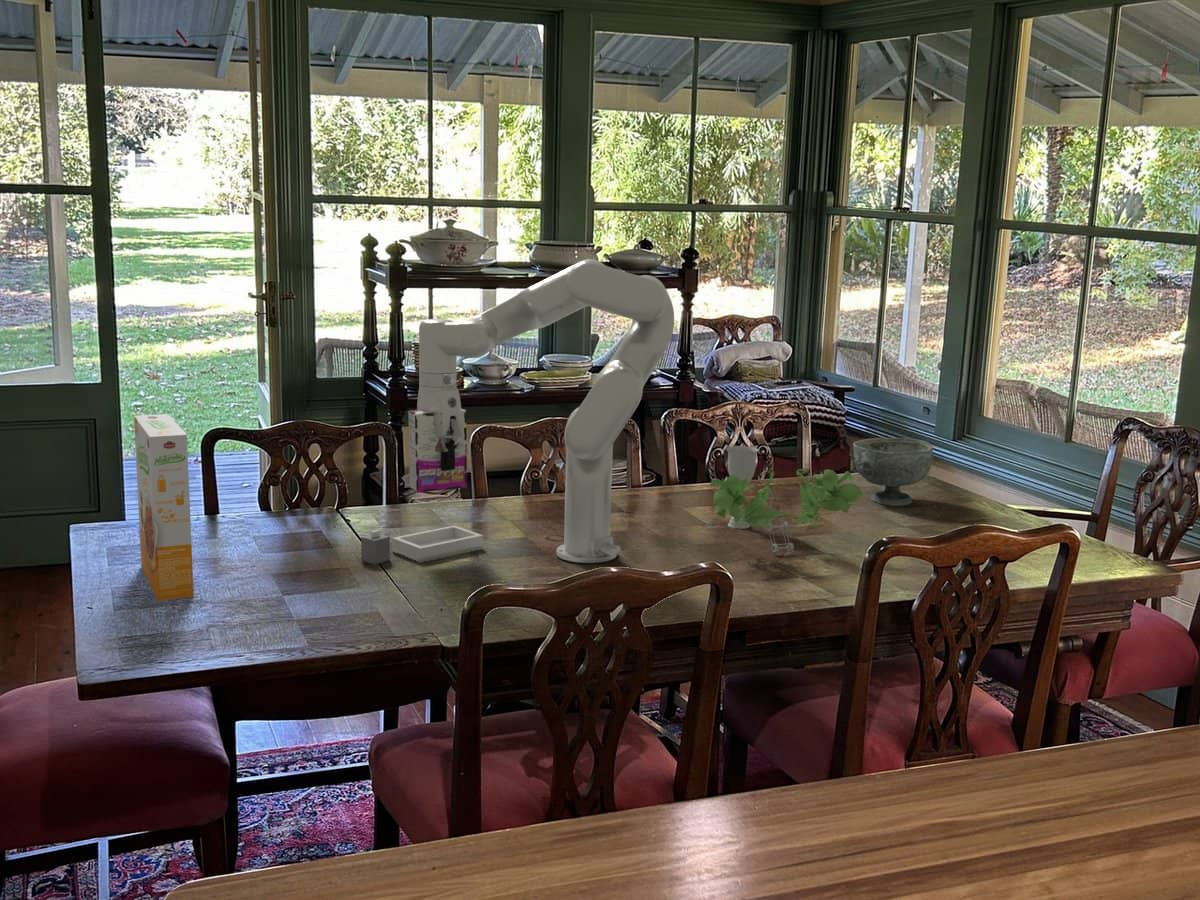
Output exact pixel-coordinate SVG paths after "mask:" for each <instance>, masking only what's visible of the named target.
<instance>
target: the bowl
mask: <svg viewBox="0 0 1200 900" xmlns="http://www.w3.org/2000/svg"><path fill="white" fill-rule="evenodd" d="M852 444H853V459H854V460H853V462H854V464H855V465H854V466H855V468H856V470H857V473H858V474H859V475H861V477H862V478H863V479H865V480H866V481H867V482H868V483H871V484H873V485H875V486H885V488H884V490H879V491H875V492H874V493H872V495H871V497H870V499H871V500H872V501H873V502H875V503H877V504H881V505H885V506H892V507H893V506H894V507H895V506H898V507H900V506H908V505H911V504H912V503H913V499H912V497H911V495H910V494H907V493H906V492H903V491H901V490H900V487H903V486H910V485H911V486H912V485H914V484H917V483H919V482H921V481H923V480H924V479H925V478H926V477H927V476H928V474H929V473H930V471H931V469H932V468H931V467H932V463H933V457H934V452H933V448H934V447H933V444H932V443H929V441H926V440H922V439H915V438H906V437H887V438H886V437H885V438H884V437H877V438H867V439H861V440H857V441H855V442H853V443H852Z"/></svg>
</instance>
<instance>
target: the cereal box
mask: <svg viewBox="0 0 1200 900" xmlns="http://www.w3.org/2000/svg"><path fill="white" fill-rule="evenodd" d="M133 424H134V425H133V426H134V443H135V444H134V445H135V446H134V447H135V463H136V464H135V465H136V467H135V468H136V482H137V484H136V485H137V487H136V488H137V501H138V503H137V504H138V523H139V524H138V525H139V541H140V543H139V544H140V545H139V546H140V547H139V548H140V563H141V564H140V565H141V568H142V570H143V574H144V575H145V577H146V579H147V581H148V583H149V585H150V587H151V590H152V593H153V594H154V596H155V598H156V600H157V601H164V600H173V599H182V598H190V597H194V595H195V594H194V593H195V592H194V575H193V573H194V572H193V571H194V570H193V568H194V566H193V551H192V550H193V547H192V525H191V524H192V523H191V502H190V501H191V500H190V499H191V498H190V479H189V478H190V475H189V472H190V471H189V456H188V455H189V454H188V453H189V452H188V451H189V450H188V448H189V447H188V434H187V433H186V432H185V431H184V430H183V428H181V426H180V425H179V424H178V423H177V422H176V421H175V420H174V419H173V418H172V416H171V415H170V414H169V413H163V414H162V413H160V414H159V413H158V414H142V415H141V414H139V415H133Z"/></svg>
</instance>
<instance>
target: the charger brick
mask: <svg viewBox="0 0 1200 900" xmlns="http://www.w3.org/2000/svg"><path fill="white" fill-rule="evenodd" d="M380 532H381V530H379V529H376V530H371V531H370V534H367V535H364V536H361V537H360V540H361V541H360V548H361V551H360V553H361V555H360V556H361V557H360V559H361V560H360V561H361V562H365V563H369V564H372V565H378V564H381V563H385V561H386V562H388V560H389V561H390V560H391V559H390V558H391V555H390V554H391V553H390V552H391V547H390V546H391V544H390V543H391V541H390V540H391V539H390V535H389V536H388V535H385V534H381V533H380Z"/></svg>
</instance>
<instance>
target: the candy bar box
mask: <svg viewBox="0 0 1200 900" xmlns="http://www.w3.org/2000/svg"><path fill="white" fill-rule="evenodd" d="M407 412H408V414H407V416H408V417H407V418H408V444H409V446H408V447H409V448H408V452H409V453H408V455H409V488H410V489H411V490H413V491H415V492H416V493H426V492H428V493H429V492H437V491H447V490H454V489H466V488H467V487H468V468H467V467H468V457H467V455H468V453H467V451H468V450H467V444H468V442H467V438H468V437H467V410H466V409H465V408H464V409H463V408H462V407H461V412H462V434H463V438H462V440H461V441H460V442H459V444H458V446H457V450H455V469H453V470H447V471H442V470H441V451H443V449H442V444H441V440H440V437H437V436H436V434H435V427H434V415H433V413H432V412H428V411H424V410H417V409H415V410H408V411H407ZM448 435H450V433H447V435H446V436H448ZM446 441H447V443H448V442H449V441H450V439H446Z"/></svg>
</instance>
